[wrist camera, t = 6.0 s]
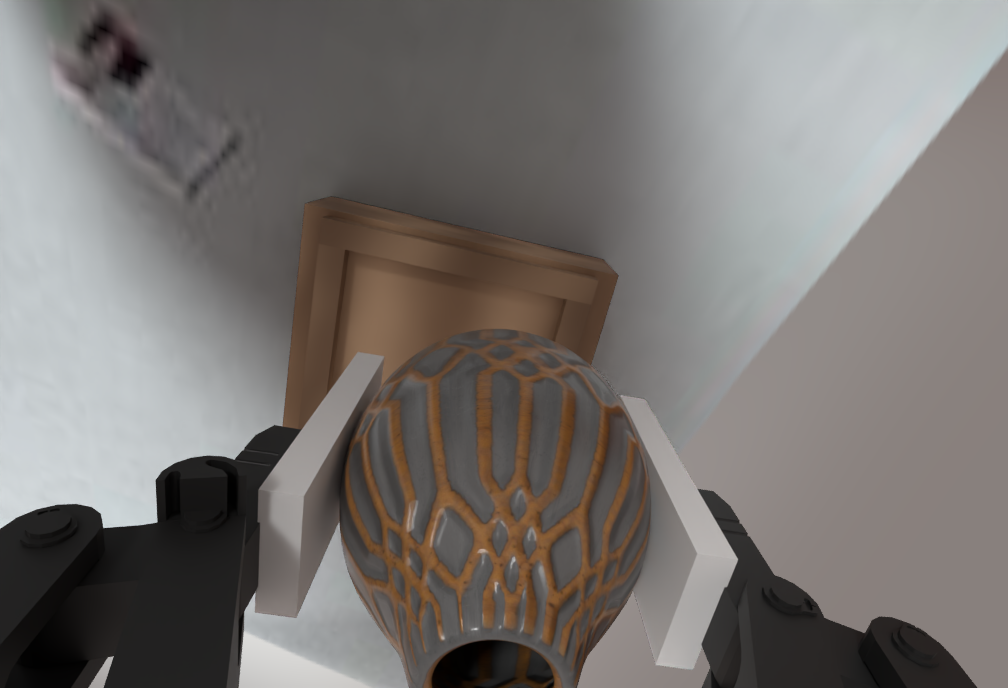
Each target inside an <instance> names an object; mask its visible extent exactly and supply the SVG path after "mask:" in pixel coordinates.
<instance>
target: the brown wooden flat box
mask: <svg viewBox="0 0 1008 688" xmlns="http://www.w3.org/2000/svg"><path fill="white" fill-rule="evenodd" d="M617 279H618V275H617V273H616V272H615V271H614V270H613V269H612V268H611V267H610V266H609V265H608V264H607V263H606V262H605V261H604V260H603V259H599V258H595V257H590V256H586V255H582V254H578V253H573V252H569V251H565V250H560V249H556V248H552V247H547V246H543V245H539V244H534V243H530V242H526V241H521V240H517V239H513V238H509V237H504V236H500V235H496V234H491V233H487V232H483V231H478V230H474V229H470V228H465V227H461V226H457V225H453V224H448V223H444V222H440V221H435V220H431V219H427V218H422V217H418V216H414V215H409V214H405V213H401V212H396V211H392V210H388V209H384V208H379V207H375V206H371V205H366V204H362V203H358V202H353V201H349V200H345V199H340V198H336V197H332V196H331V197H327V198H323V199H320V200H316V201H312V202H309V203H305V206H304V217H303V227H302V237H301V247H300V257H299V267H298V277H297V287H296V297H295V307H294V317H293V327H292V337H291V347H290V357H289V367H288V377H287V387H286V398H285V408H284V418H283V427H289V428H295V429H303V427H304V426H305V424H306V423H307V422H308V420H309V419H310V418H311V416H312V415H313V413H314V412H315V411H316V409H317V408H318V406H319V405H320V404H321V402H322V401H323V400H324V398H325V397H326V395H327V394H328V393H329V391H330V390H331V388H332V387H333V386H334V384H335V383H336V382H337V380H338V379H339V377H340V376H341V375H342V373H343V372H344V370H345V369H346V368H347V366H348V365H349V364H350V362H351V361H352V359H353V358H354V357H355V355H356V354H357V352H361V353H367V354H373V355H379V356H384V365H383V374H382V383H381V386H382V385H383V384H384V383H385V381H386V380H387V379H388V378H389V377H390V376H391V375H392V373H393V372H394V371H396V370H397V369H398V368H399V367H400V366H401V365H402V364H403V363H405V362H406V361H407V360H408V359H410V358H411V357H413V356H414V355H416V354H417V353H419V352H420V351H422V350H423V349H425V348H427V347H428V346H430V345H432V344H434V343H436V342H438V341H440V340H443V339H445V338H448V337H451V336H454V335H457V334H461V333H465V332H470V331H475V330H482V329H510V330H517V331H523V332H527V333H531V334H535V335H538V336H541V337H544V338H547V339H549V340H552V341H554V342H556V343H558V344H560V345H562V346H564V347H566V348H567V349H569V350H571V351H572V352H574V353H575V354H577V355H578V356H579V357H581V358H582V359H583V360H585V361H586V362H587V363H589V364H590V365H591V363H592V360H593V357H594V353H595V350H596V347H597V344H598V341H599V337H600V334H601V331H602V328H603V324H604V321H605V318H606V315H607V311H608V308H609V305H610V302H611V299H612V295H613V292H614V289H615V286H616V282H617Z"/></svg>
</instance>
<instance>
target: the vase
mask: <svg viewBox="0 0 1008 688" xmlns="http://www.w3.org/2000/svg"><path fill="white" fill-rule="evenodd" d="M650 518H651V494H650V480H649V473H648V468H647V463H646V458H645V454H644V450H643V448H642V445H641V442H640V439H639V437H638V434H637V431H636V429H635V427H634V425H633V422H632V420H631V418H630V417H629V415H628V413H627V411H626V409H625V408H624V406H623V404H622V402H621V401H620V399H619V398H618V396H617V395H616V393H615V392H614V391H613V389H612V388H611V387H610V385H609V384H608V383H607V382H606V380H605V379H604V378H603V377H602V376H601V375H600V374H599V373H598V372H597V371H596V370H595V369H594V368H593V367H592V366H591V365H590V364H589V363H587V362H586V361H585V360H583V359H582V358H581V357H579V356H578V355H577V354H575V353H574V352H572V351H571V350H569V349H567V348H566V347H564V346H562V345H560V344H558V343H556V342H554V341H552V340H549V339H547V338H544V337H541V336H538V335H535V334H531V333H527V332H523V331H517V330H510V329H482V330H475V331H470V332H465V333H461V334H457V335H454V336H451V337H448V338H445V339H443V340H440V341H438V342H436V343H434V344H432V345H430V346H428V347H427V348H425V349H423V350H422V351H420V352H419V353H417V354H416V355H414V356H413V357H411V358H410V359H408V360H407V361H406V362H405V363H403V364H402V365H401V366H400V367H399V368H398V369H397V370H396V371H394V372H393V373H392V375H391V376H390V377H389V378H388V379H387V380H386V381H385V383H384V384H383V385H382V386H381V388H380V389H379V390H378V392H377V393H376V394H375V396H374V397H373V399H372V400H371V402H370V403H369V405H368V407H367V408H366V410H365V412H364V413H363V415H362V417H361V419H360V421H359V423H358V425H357V427H356V429H355V432H354V434H353V436H352V439H351V441H350V444H349V447H348V450H347V454H346V458H345V462H344V466H343V471H342V477H341V487H340V498H339V522H340V532H341V542H342V548H343V553H344V557H345V561H346V565H347V568H348V572H349V574H350V577H351V579H352V582H353V584H354V586H355V589H356V591H357V593H358V595H359V597H360V599H361V601H362V602H363V604H364V606H365V607H366V609H367V610H368V612H369V614H370V615H371V617H372V618H373V620H374V621H375V622H376V624H377V625H378V627H379V628H380V629H381V631H382V632H383V634H384V635H385V636H386V638H387V639H388V640H389V642H390V643H391V644H392V646H393V647H394V648H395V650H396V651H397V652H398V654H399V656H400V658H401V660H402V663H403V667H404V670H405V674H406V678H407V682H408V686H409V688H577V685H578V682H579V678H580V675H581V671H582V668H583V665H584V662H585V660H586V658H587V656H588V654H589V653H590V652H591V651H592V649H593V648H594V647H595V646H596V644H597V643H598V642H599V640H600V639H601V638H602V637H603V635H604V634H605V633H606V631H607V630H608V629H609V627H610V626H611V625H612V623H613V622H614V621H615V619H616V618H617V616H618V615H619V613H620V612H621V610H622V609H623V607H624V606H625V604H626V603H627V601H628V599H629V597H630V595H631V593H632V591H633V589H634V587H635V585H636V583H637V580H638V578H639V575H640V572H641V569H642V566H643V563H644V559H645V555H646V551H647V546H648V539H649V531H650Z"/></svg>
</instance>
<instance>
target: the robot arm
mask: <svg viewBox="0 0 1008 688" xmlns="http://www.w3.org/2000/svg"><path fill="white" fill-rule="evenodd" d="M383 365H384V356H379V355H373V354H367V353H361V352H357V354H356V355H355V357H354V358H353V359H352V361H351V362H350V364H349V365H348V366H347V368H346V369H345V370H344V372H343V373H342V375H341V376H340V377H339V379H338V380H337V382H336V383H335V384H334V386H333V387H332V388H331V390H330V391H329V393H328V394H327V395H326V397H325V398H324V400H323V401H322V402H321V404H320V405H319V406H318V408H317V409H316V411H315V412H314V413H313V415H312V416H311V418H310V419H309V420H308V422H307V423H306V424H305V426H304V427H303V429H295V428H289V427H282V426H276V425H274V426H272V427H270V428H268V429H266V430H265V431H263V432H261V433H259V434H257V435H255V437H254V438H253V439H252V440H251V441H250V442H249V443H248V445H247V446H246V447H245V449H244V451H242V452H241V453H240V454H239V455H238V456H237V457H236V458H235V460H233V459H230V458H227V457H222V456H202V457H194V458H189V459H186V460H183V461H180V462H177V463H175V464H173V465H171V466H170V467H168V468H167V469H165V470H163V471H162V472H161V474H160V475H159V476H158V478H157V479H156V498H157V518H158V522H157V523H153V524H146V525H139V526H126V527H113V528H103V523H102V518H101V514H100V513H99V512H97V511H96V510H95V509H93V508H92V507H88V506H83V505H78V504H67V505H55V506H50V507H46V508H41V509H37V510H34V511H32V512H30V513H27V514H25V515H22V516H20V517H17V518H16V519H14V520H13V521H11V522H10V523H8V524H7V525H5V526H4V527H2V528H1V529H0V688H88V687H89V686H90V684H91V682H92V681H93V680H94V678H95V676H96V675H97V673H98V672H99V670H100V668H101V667H102V666H103V664H104V662H105V661H106V659H107V658H108V657H112V656H114V658H113V661H112V664H111V667H110V670H109V673H108V676H107V679H106V682H105V685H104V688H238V687H239V675H240V665H241V653H242V643H243V632H244V611H245V609H246V607H247V605H248V604H249V602H250V600H251V598H252V596H253V595H254V593H255V591H256V597H255V613H263V614H271V615H278V616H286V617H294V618H296V617H297V615H298V613H299V611H300V608H301V606H302V604H303V602H304V599H305V597H306V595H307V593H308V590H309V588H310V586H311V583H312V581H313V579H314V577H315V574H316V572H317V570H318V568H319V565H320V563H321V561H322V559H323V556H324V554H325V552H326V549H327V547H328V545H329V543H330V540H331V538H332V536H333V534H334V531H335V529H336V527H337V525H338V522H339V498H340V487H341V477H342V471H343V466H344V462H345V458H346V454H347V450H348V447H349V444H350V441H351V439H352V436H353V434H354V432H355V429H356V427H357V425H358V423H359V421H360V419H361V417H362V415H363V413H364V412H365V410H366V408H367V407H368V405H369V403H370V402H371V400H372V399H373V397H374V396H375V394H376V393H377V392H378V390H379V389H380V388H381V383H382V374H383ZM619 399H620V401H621V402H622V404H623V406H624V408H625V409H626V411H627V413H628V415H629V417H630V418H631V420H632V422H633V425H634V427H635V429H636V431H637V434H638V437H639V439H640V442H641V445H642V448H643V450H644V454H645V458H646V463H647V468H648V473H649V480H650V494H651V518H650V531H649V539H648V546H647V551H646V555H645V559H644V563H643V566H642V569H641V572H640V575H639V578H638V580H637V583H636V585H635V587H634V589H633V591H634V594H635V598H636V601H637V605H638V608H639V611H640V614H641V618H642V621H643V625H644V628H645V631H646V635H647V638H648V641H649V645H650V648H651V651H652V655H653V658H654V662H655V665H658V666H667V667H674V668H681V669H689V670H693V669H694V667H695V664H696V661H697V659H698V657H699V654H700V652H701V649H702V647H703V650H704V652H705V654H706V657H707V660H708V662H709V664H710V669H709V672H708V674H707V677H706V679H705V681H704V684H703V686H702V688H977V687H976V685H975V684H974V683H973V682H972V680H971V679H970V678H969V677H968V675H967V674H966V673H965V671H964V670H963V669H962V668H961V666H960V665H959V664H958V663H957V661H956V660H955V659H954V658H953V656H952V655H951V654H950V653H949V652H948V651H947V650H946V649H944V647H943V646H942V645H941V644H940V643H939V642H937V641H936V640H934V639H933V638H932V637H931V636H929V635H928V634H927V633H926V632H924V631H922V630H921V629H919V628H916V627H915V626H914V625H911V624H909V623H907V622H903V621H901V620H898V619H895V618H892V617H878V618H876V619H874V620H872V621H871V623H870V625H869V627H868V629H867V631H866V632H865V633H862V632H860V631H857V630H854V629H852V628H849V627H846V626H844V625H841V624H838V623H835V622H833V621H830V620H828V619H826V618H824V616H823V614H822V612H821V610H820V608H819V606H818V604H817V603H816V602H815V601H814V600H813V599H812V598H811V597H810V596H809V595H808V594H807V593H806V592H804V591H803V590H802V589H800V588H799V587H798V586H796V585H795V584H793V583H791V582H789V581H787V580H785V579H783V578H781V577H778V576H775V575H774V574H773V572H772V571H771V569H770V568H769V566H768V564H767V563H766V561H765V560H764V558H763V557H762V555H761V554H760V552H759V550H758V549H757V547H756V546H755V544H754V543H753V541H752V540H751V538H750V537H749V536H747V532H746V530H745V529H744V527H743V526H742V524H739V520H738V518H737V516H736V515H735V513H734V512H733V510H732V509H731V507H730V506H729V505H728V504H727V503H726V502H725V501H724V500H723V499H721V498H720V497H719V496H718V495H717V494H716V493H715V492H713V491H708V490H701V489H697V488H696V486H695V484H694V482H693V481H692V479H691V478H690V476H689V474H688V472H687V471H686V469H685V467H684V465H683V464H682V462H681V460H680V458H679V457H678V455H677V453H676V451H675V450H674V448H673V446H672V445H671V443H670V441H669V439H668V438H667V436H666V434H665V432H664V431H663V429H662V427H661V426H660V424H659V422H658V420H657V419H656V417H655V415H654V413H653V412H652V410H651V408H650V407H649V405H648V403H647V401H646V400H645V399H642V398H635V397H629V396H623V395H620V398H619Z"/></svg>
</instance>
